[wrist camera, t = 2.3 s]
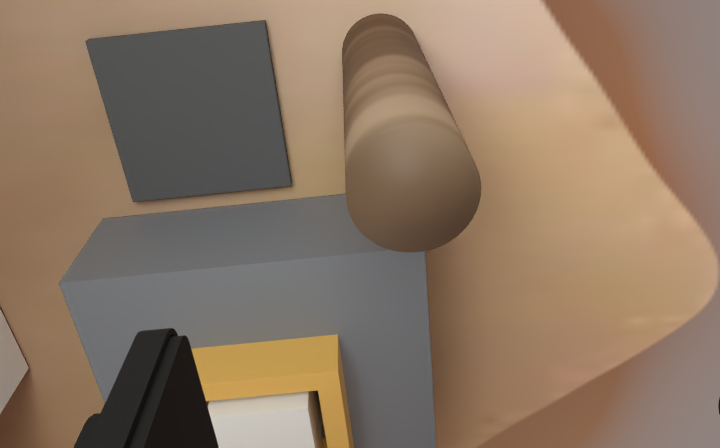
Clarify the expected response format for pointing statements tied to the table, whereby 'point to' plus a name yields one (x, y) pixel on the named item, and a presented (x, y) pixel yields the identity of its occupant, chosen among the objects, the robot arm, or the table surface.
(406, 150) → the brown cylinder
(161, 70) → the pad
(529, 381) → the table surface
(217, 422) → the button
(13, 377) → the gable box
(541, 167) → the table surface
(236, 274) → the box
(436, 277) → the table surface
